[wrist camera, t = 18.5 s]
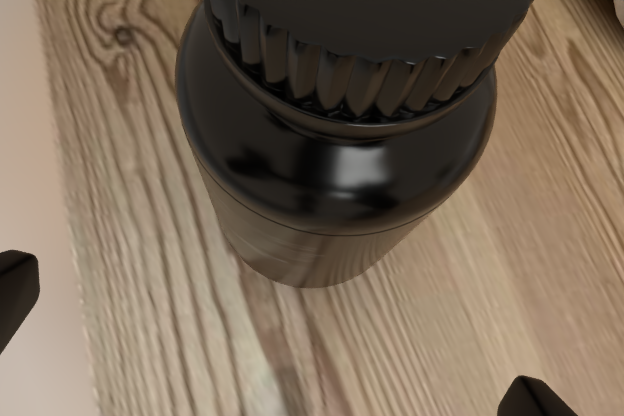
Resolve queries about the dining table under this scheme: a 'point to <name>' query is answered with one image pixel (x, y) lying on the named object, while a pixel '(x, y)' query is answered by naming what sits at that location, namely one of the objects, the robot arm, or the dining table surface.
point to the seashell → (620, 10)
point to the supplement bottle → (336, 121)
